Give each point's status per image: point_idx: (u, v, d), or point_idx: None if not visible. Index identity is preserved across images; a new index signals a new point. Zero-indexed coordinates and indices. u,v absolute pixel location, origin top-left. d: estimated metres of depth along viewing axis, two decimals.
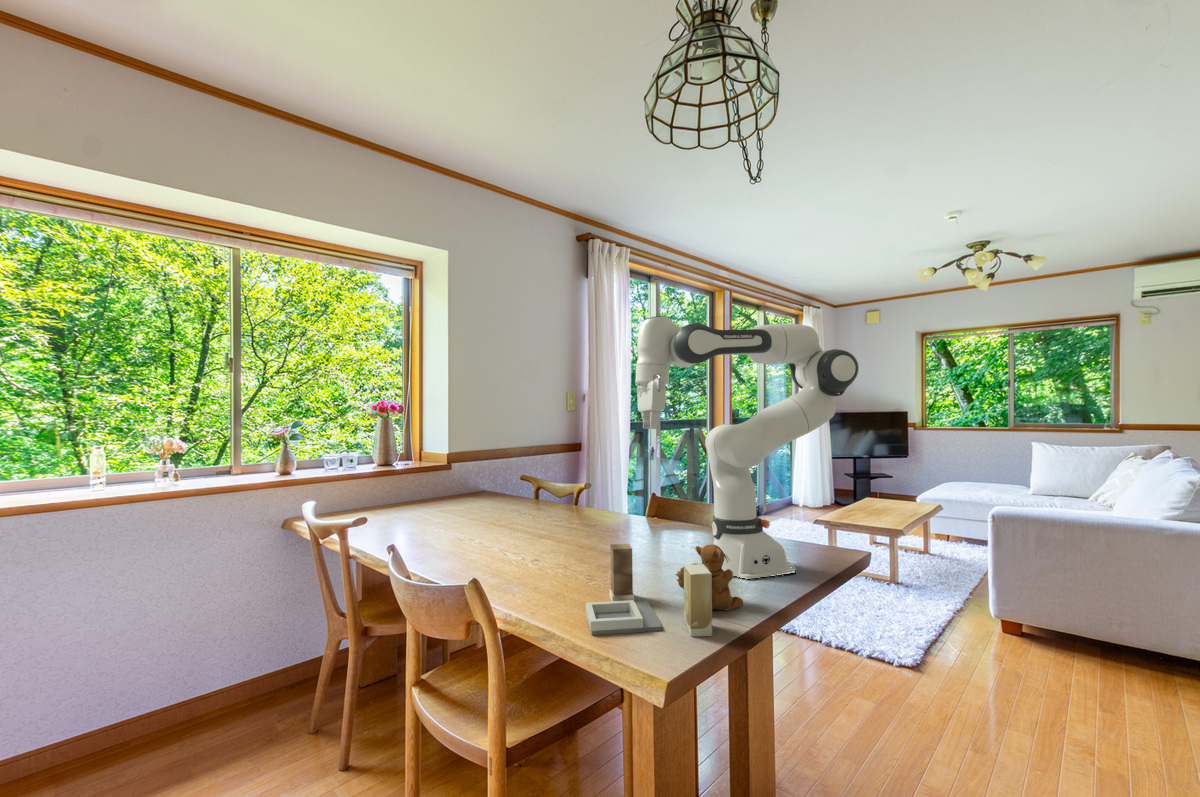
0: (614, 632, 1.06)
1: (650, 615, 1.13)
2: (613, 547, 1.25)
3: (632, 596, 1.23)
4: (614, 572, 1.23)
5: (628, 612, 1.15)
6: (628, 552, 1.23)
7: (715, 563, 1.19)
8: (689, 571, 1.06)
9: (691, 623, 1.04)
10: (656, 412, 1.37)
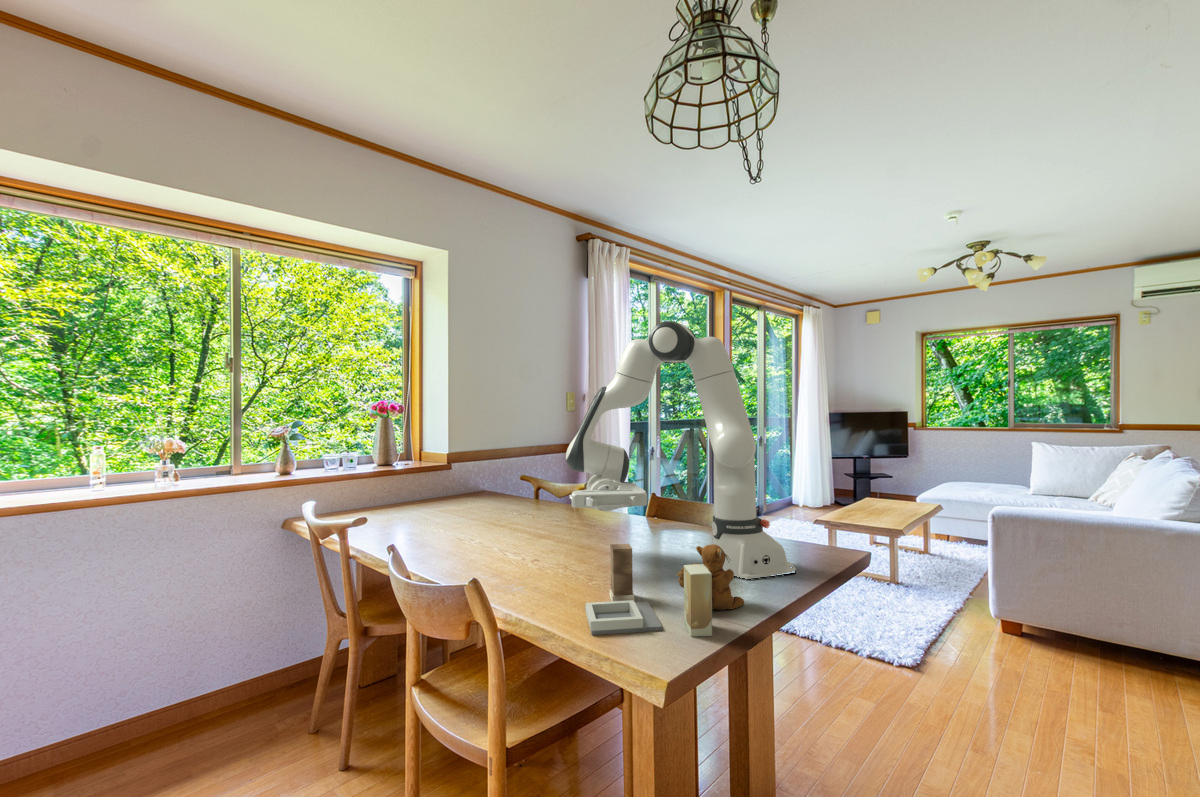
0: (614, 632, 1.06)
1: (650, 615, 1.13)
2: (613, 547, 1.25)
3: (632, 596, 1.23)
4: (614, 572, 1.23)
5: (628, 612, 1.15)
6: (628, 552, 1.23)
7: (715, 563, 1.19)
8: (689, 571, 1.06)
9: (691, 623, 1.04)
10: (585, 500, 1.41)
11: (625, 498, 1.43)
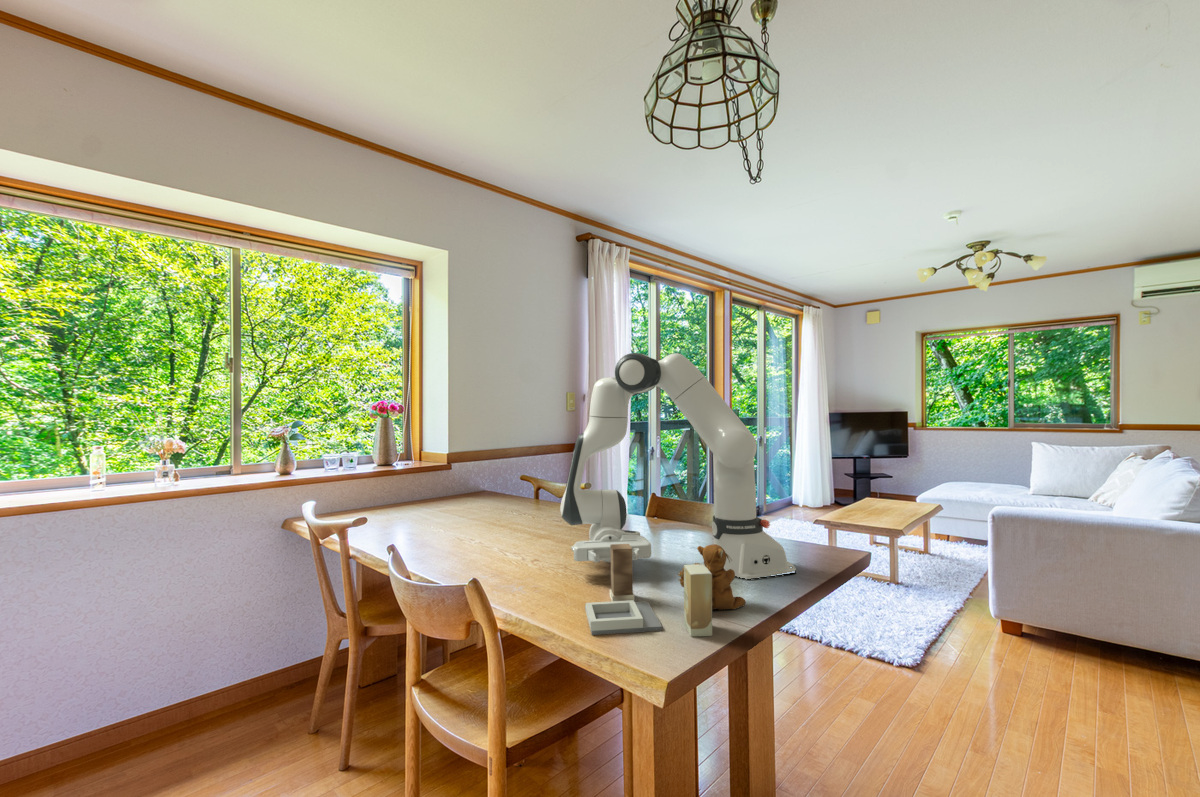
0: (614, 632, 1.06)
1: (650, 615, 1.13)
2: (613, 547, 1.25)
3: (632, 596, 1.23)
4: (614, 572, 1.23)
5: (628, 612, 1.15)
6: (628, 552, 1.23)
7: (717, 563, 1.19)
8: (689, 571, 1.06)
9: (691, 623, 1.04)
10: (588, 553, 1.37)
11: None
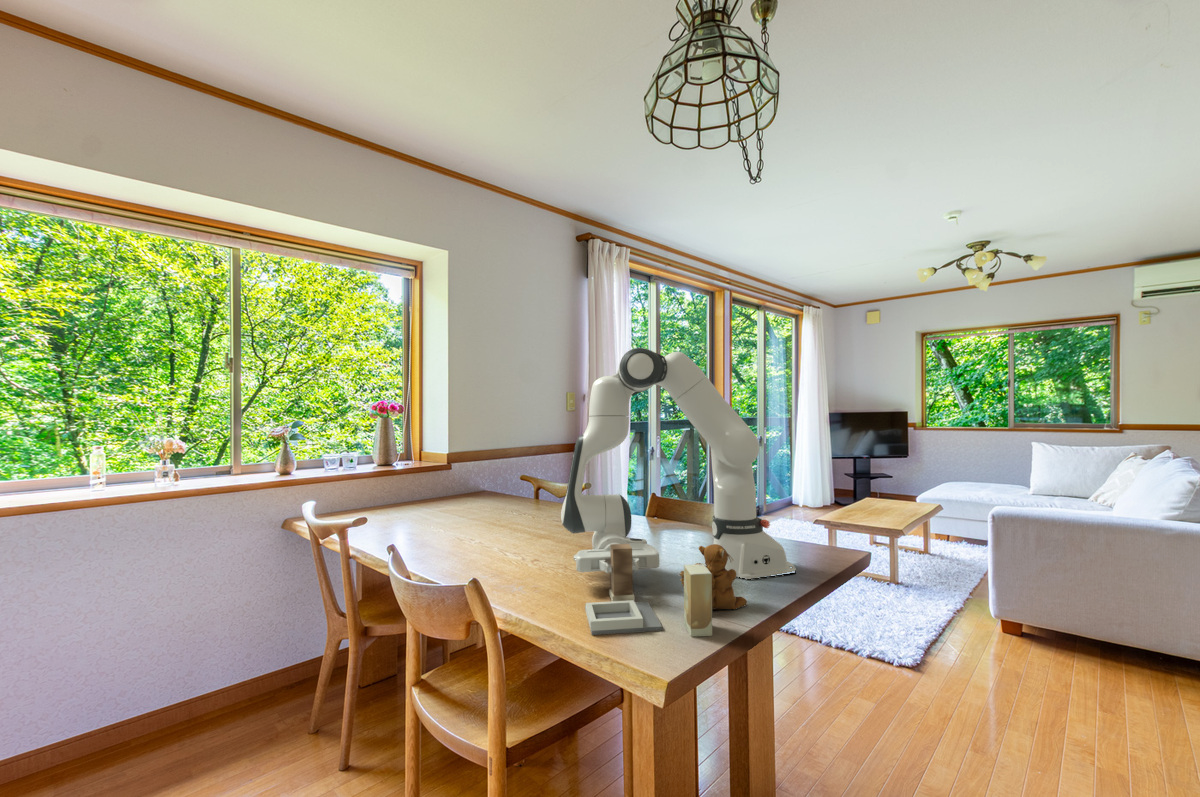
0: (614, 632, 1.06)
1: (650, 615, 1.13)
2: (613, 547, 1.25)
3: (632, 595, 1.23)
4: (614, 572, 1.23)
5: (628, 612, 1.15)
6: (628, 552, 1.23)
7: (718, 563, 1.19)
8: (689, 571, 1.06)
9: (691, 623, 1.04)
10: (599, 563, 1.28)
11: None
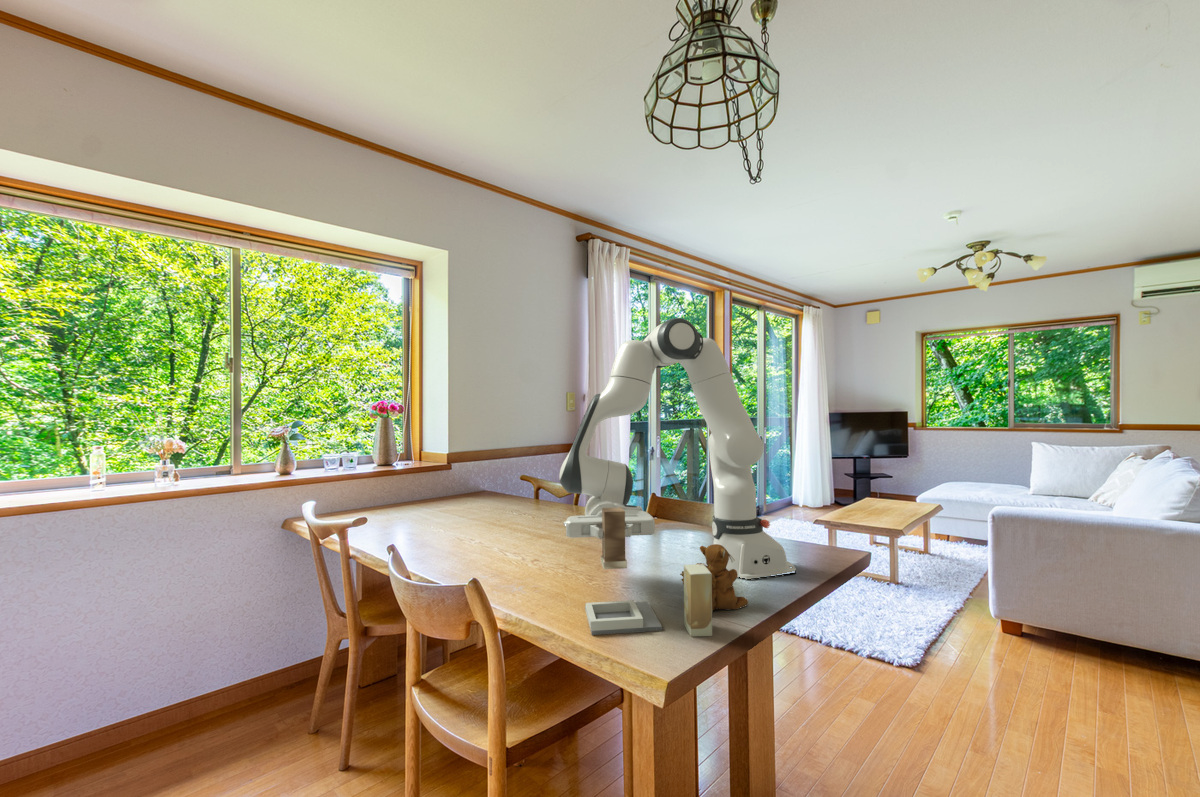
0: (614, 632, 1.06)
1: (650, 615, 1.13)
2: (605, 510, 1.17)
3: (625, 562, 1.15)
4: (605, 536, 1.15)
5: (628, 612, 1.15)
6: (620, 515, 1.15)
7: (719, 563, 1.19)
8: (689, 571, 1.06)
9: (691, 623, 1.04)
10: (590, 528, 1.20)
11: None
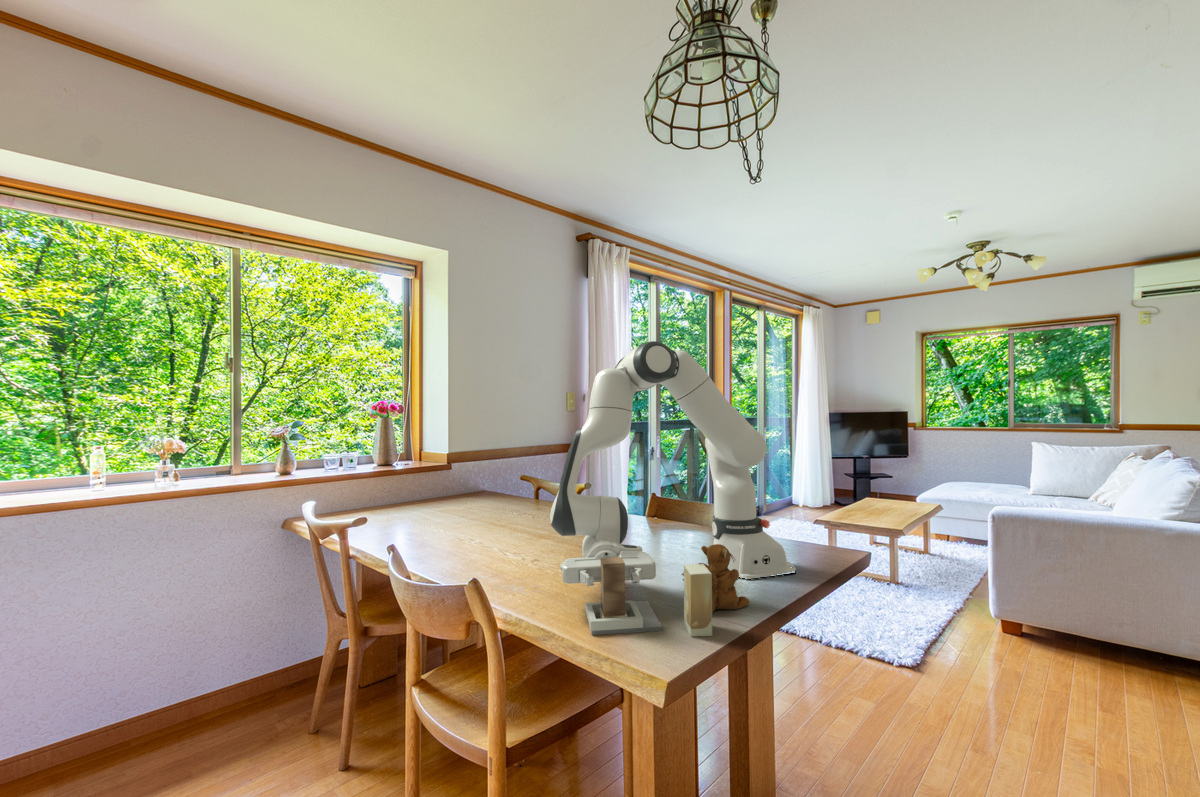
0: (614, 632, 1.06)
1: (650, 615, 1.13)
2: (603, 561, 1.10)
3: (625, 616, 1.09)
4: (604, 590, 1.09)
5: (628, 612, 1.15)
6: (620, 567, 1.09)
7: (721, 563, 1.19)
8: (689, 571, 1.06)
9: (691, 623, 1.04)
10: (579, 574, 1.14)
11: (629, 570, 1.16)
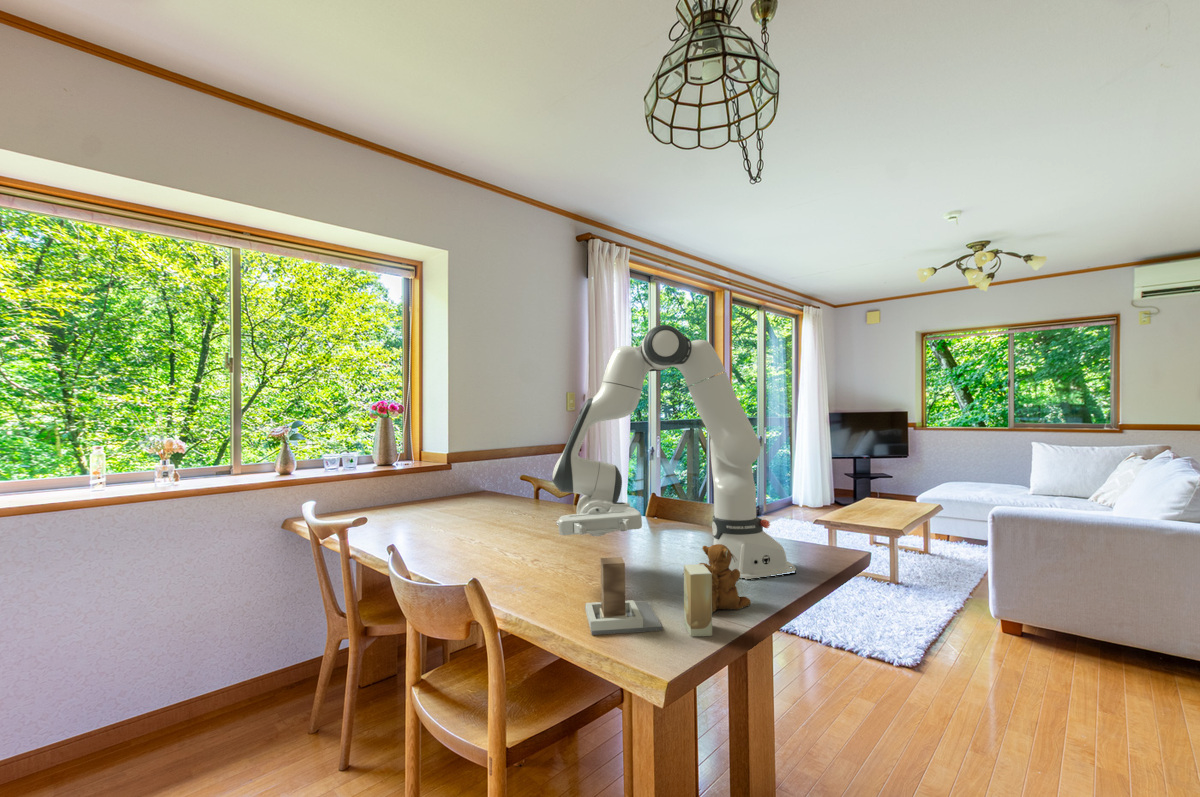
0: (614, 632, 1.06)
1: (650, 615, 1.13)
2: (603, 561, 1.10)
3: (625, 616, 1.09)
4: (604, 590, 1.09)
5: (628, 612, 1.15)
6: (620, 567, 1.09)
7: (722, 563, 1.19)
8: (689, 571, 1.06)
9: (691, 623, 1.04)
10: (573, 526, 1.28)
11: (617, 521, 1.30)
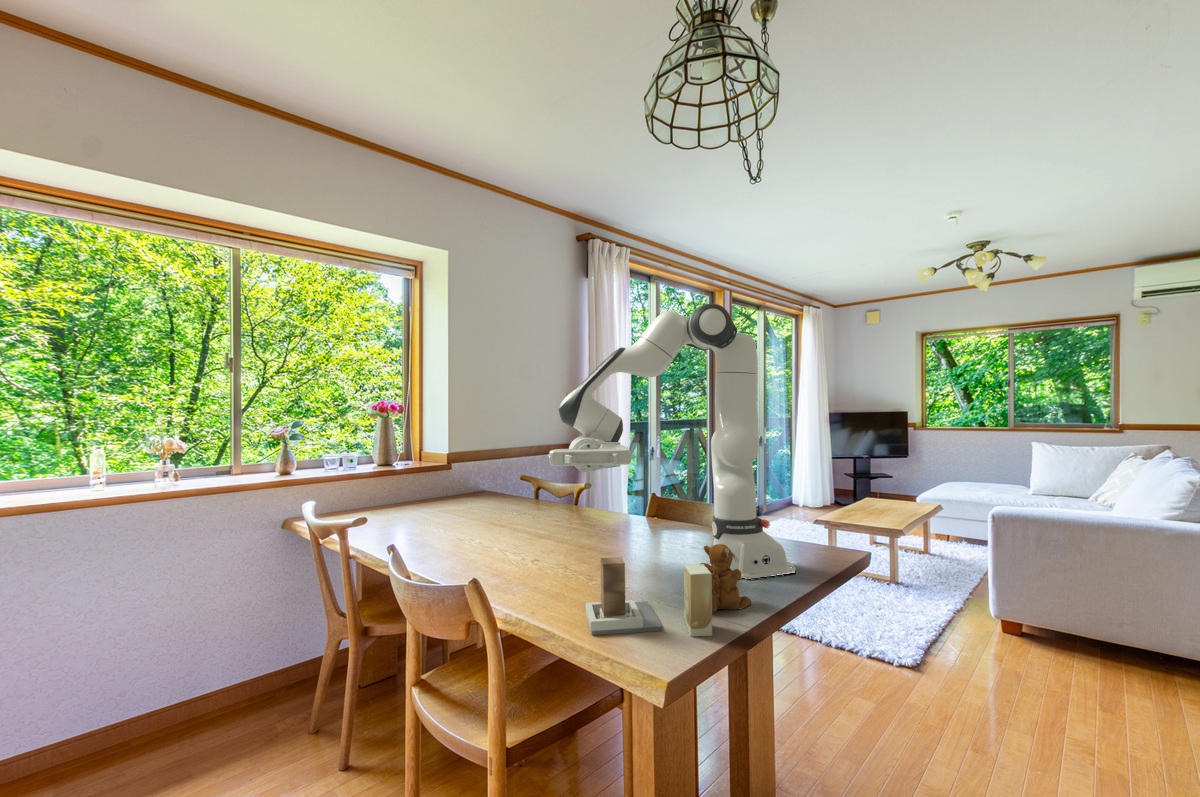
0: (614, 632, 1.06)
1: (650, 615, 1.13)
2: (603, 561, 1.10)
3: (625, 616, 1.09)
4: (604, 590, 1.09)
5: (628, 612, 1.15)
6: (620, 567, 1.09)
7: (723, 563, 1.19)
8: (689, 571, 1.06)
9: (691, 623, 1.04)
10: (564, 457, 1.31)
11: (607, 456, 1.33)
